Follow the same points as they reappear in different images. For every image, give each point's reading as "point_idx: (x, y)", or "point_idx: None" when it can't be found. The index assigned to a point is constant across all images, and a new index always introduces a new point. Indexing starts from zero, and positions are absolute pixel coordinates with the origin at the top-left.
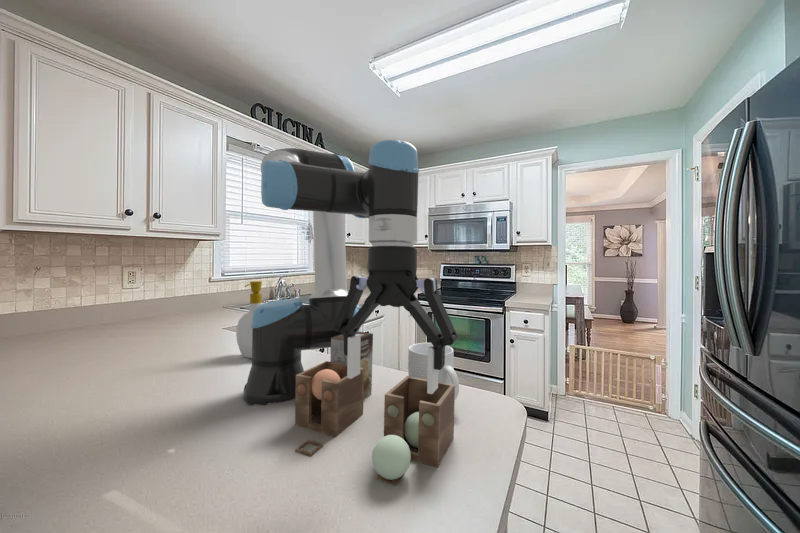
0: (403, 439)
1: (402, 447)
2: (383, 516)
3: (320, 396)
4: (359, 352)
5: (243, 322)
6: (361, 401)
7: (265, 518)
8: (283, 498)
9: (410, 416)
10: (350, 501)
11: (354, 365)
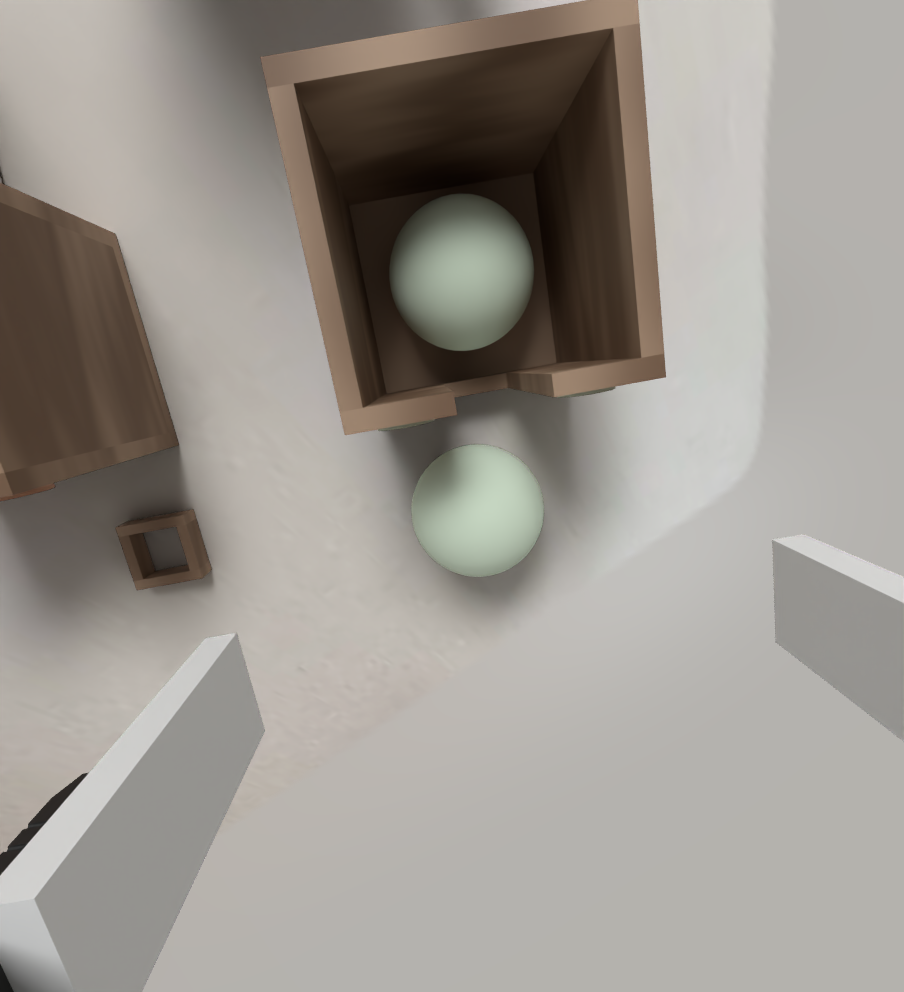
0: (505, 479)
1: (530, 524)
2: (525, 595)
3: None
4: (166, 751)
5: None
6: (63, 230)
7: (309, 748)
8: (285, 695)
9: (423, 292)
10: (427, 608)
11: (227, 752)
